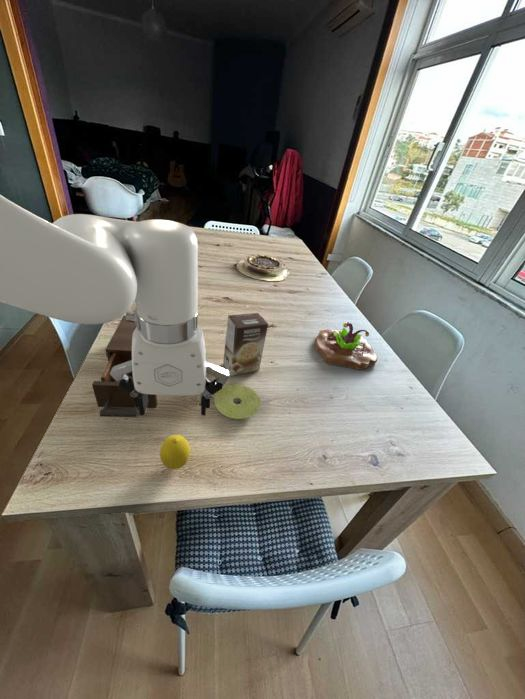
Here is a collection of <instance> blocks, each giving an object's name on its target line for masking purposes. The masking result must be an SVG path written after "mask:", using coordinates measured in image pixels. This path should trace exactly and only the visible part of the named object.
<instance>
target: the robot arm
mask: <svg viewBox="0 0 525 699" xmlns="http://www.w3.org/2000/svg"><path fill="white" fill-rule="evenodd" d="M198 243H199V242H198V238H197V235H196V233H195V231H194V230H193V229H192V228H191V227H190V226H188V225H187V224H184V223H181V222H178V221H174V220H169V219H145V220H140V221H135V220H127V219H119V218H113V217H106V216H100V215H96V214H95V215H94V214H87V213H86V214H85V213H72V214H67V215H64V216H62V217H61V216H60V217H59V218H58V219H56V220H55V221H53V222H49V221H48V220H46V219H44V218H42V217H41V216H38V215H36V214H34V213H33V212H31V211H29V210H27V209H25V208H23V207H21V206H20V205H18V204H16V203H15V202H13V201H11V200H9V198H6V197H4V196H3V195H2V194H0V303H3V304H5V305H9V306H12V307H15V308H18V309H22V310H24V311H28V312H31V313H34V314H37V315H41V316H44V317H47V318H52V319H55V320H59V321H62V322H67V323H73V324H80V325H103V324H107V323H110V322H113V321H117V320H118V319H120V318H122V317H123V316H125V317H126V321H127V322H132V323H135V324H136V325H137V327H136V329H135V330H134V332H133V336H132V360H130V361H127V362H125V363H122V364H119V365H116V366H114V367H113V368H112V370H111V372H110V375H111V376H112V377H113V378H114V379H115V380H116V381H117V382H119V386H120V387H122V388H123V389H125V390H127V391H128V392H130V396H131V397H134V400H135V406H136V407H139V408H138V413H139V415H140V416H144V415H145V414H146V411H147V409H148V408H147V405H148V394H153V395H157V396H197V395H201V398H200V399H201V400H200V416H203V417H204V416H206V413H207V412H206V411H207V409H211V399H212V398H213V395H216V393H217V392H218V391H219V390H221V389H222V388H223V387H224V386H225V385H226V383H227V382H228V381H229V380H230V377H231V375H230V374H229V371H228V370H227V369H226V368H224V367H221V366H219V365H216V364H214V363H212V362H210V361H208V360H207V349H206V342H205V336H204V332H203V329H202V327H201V326H200V325H199V323H198V322H199V315H198V314H199V311H198V310H199V309H198V308H199V303H198V302H199V296H198V295H199V244H198ZM134 303H135V310H132V311H130V309H131V308H132V307H133V305H134ZM130 372H133V378H132V377H130V376H129V375H126V374H127V373H130ZM207 375H209V376H212V377H215V378H214V379H213V380H212V381H211V380H210V379H209V378H208V377H207Z"/></svg>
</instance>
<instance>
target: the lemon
mask: <svg viewBox="0 0 525 699" xmlns="http://www.w3.org/2000/svg"><path fill="white" fill-rule="evenodd" d="M159 450H160V451H159V457H160V462H161V463H162V464H163V466H164V467H165V468H167V469H169V470H178V469H181V468H183V467H184V466H185V465H186V464H187V463H188V461H189V460H190V456H191V447H190V443H189V442H188V440H187V439H186V437H184V436H183V435H179V434H171V435H169V436H168V437H167V438H165V439H164V440H163V442H162V444H161V447H160V449H159Z"/></svg>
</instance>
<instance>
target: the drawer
mask: <svg viewBox="0 0 525 699" xmlns="http://www.w3.org/2000/svg"><path fill="white" fill-rule="evenodd" d="M130 360H132V353H113V354H112V356H111V358H110V360H109V362H108V361H107V363H106V365H105V368H104V370H103V371H102V373H101V376H100V380H94V381H93V382H92V384H91V387H92V390H93V394H94V398H95V401H96V404H97V407H98V408H102V409H100V410H99V417H101V418H102V417H103V418H104V417H105V418H110V417H111V418H138V413H139V407H136V406H135V400H134V397H131V396H130V392H128V391H127V390H125V389H123V388H122V387H120V386H119V382H117V381H116V380H115V379H114V378H113V377H112V376H111V375H110V372H111V370H112V368H113V367H114V366H116V365H119V364H122V363H125V362H127V361H130ZM126 375H129V376H130V377H132V378H133V372H130V373H127V374H126ZM158 404H159V403H158V395H153V394H148V405H147V409H157V408H158ZM108 408H127V409H108ZM128 408H129V409H128ZM130 408H131V409H130Z"/></svg>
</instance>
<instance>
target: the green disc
mask: <svg viewBox="0 0 525 699" xmlns="http://www.w3.org/2000/svg"><path fill="white" fill-rule="evenodd" d="M213 401H214V406H215V408H216V410H217V411H218V412H219V413H221V414H222V415H223V416H225V417H227V418H230V419H235V420H241V419H247V418H249V417H252V416H253V415H255V414H256V413H257V412H258V410H259V409H260V406H261V400H260V397H259V395H258V394H257V393H256V392H255V391H254V389H252V388H251V387H248V386H246V385H242V384H230V385H226V386H222V389H221V390H219V391H218V392H216V393H215V395H214V399H213Z"/></svg>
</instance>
